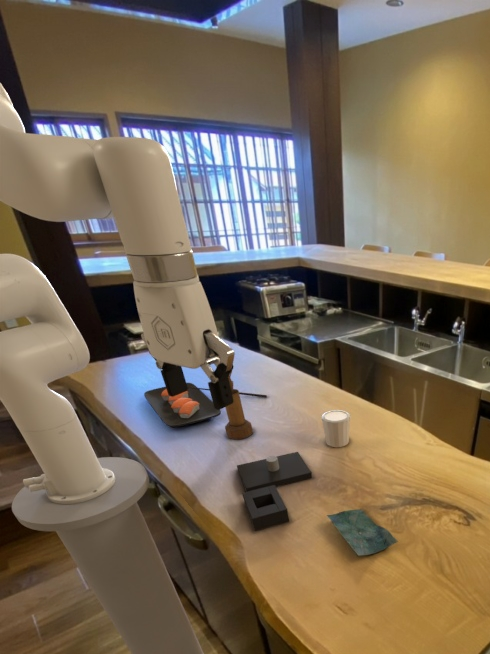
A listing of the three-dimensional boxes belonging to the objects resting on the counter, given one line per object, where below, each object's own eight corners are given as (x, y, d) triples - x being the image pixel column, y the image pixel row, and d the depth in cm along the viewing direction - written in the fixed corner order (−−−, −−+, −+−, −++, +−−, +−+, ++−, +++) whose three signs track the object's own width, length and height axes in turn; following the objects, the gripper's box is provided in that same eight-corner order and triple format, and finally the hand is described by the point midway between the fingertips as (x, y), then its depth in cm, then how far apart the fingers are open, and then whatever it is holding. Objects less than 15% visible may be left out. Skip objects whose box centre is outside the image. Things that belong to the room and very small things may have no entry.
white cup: (332, 451, 102) (330, 424, 97) (318, 440, 106) (316, 414, 102) (356, 443, 105) (355, 417, 101) (342, 432, 109) (340, 407, 105)
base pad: (247, 494, 88) (243, 478, 85) (238, 470, 95) (234, 455, 92) (312, 478, 93) (310, 462, 90) (298, 457, 100) (296, 441, 97)
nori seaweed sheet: (326, 522, 80) (325, 514, 79) (362, 510, 84) (362, 502, 83) (359, 563, 72) (359, 555, 71) (397, 548, 75) (398, 540, 74)
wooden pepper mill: (224, 430, 110) (207, 360, 99) (249, 425, 112) (235, 356, 101) (229, 441, 105) (211, 369, 94) (255, 436, 108) (241, 365, 97)
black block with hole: (255, 531, 78) (252, 518, 76) (245, 505, 85) (241, 492, 83) (289, 521, 81) (287, 509, 79) (277, 496, 87) (274, 484, 85)
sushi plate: (143, 397, 126) (138, 385, 124) (240, 376, 141) (237, 364, 138) (170, 434, 108) (165, 421, 106) (278, 405, 122) (276, 393, 120)
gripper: (93, 268, 54) (141, 397, 64) (187, 279, 47) (223, 421, 57) (145, 260, 59) (182, 381, 69) (237, 270, 52) (262, 402, 63)
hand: (201, 399), depth 63 cm, fingers open, 9 cm apart
